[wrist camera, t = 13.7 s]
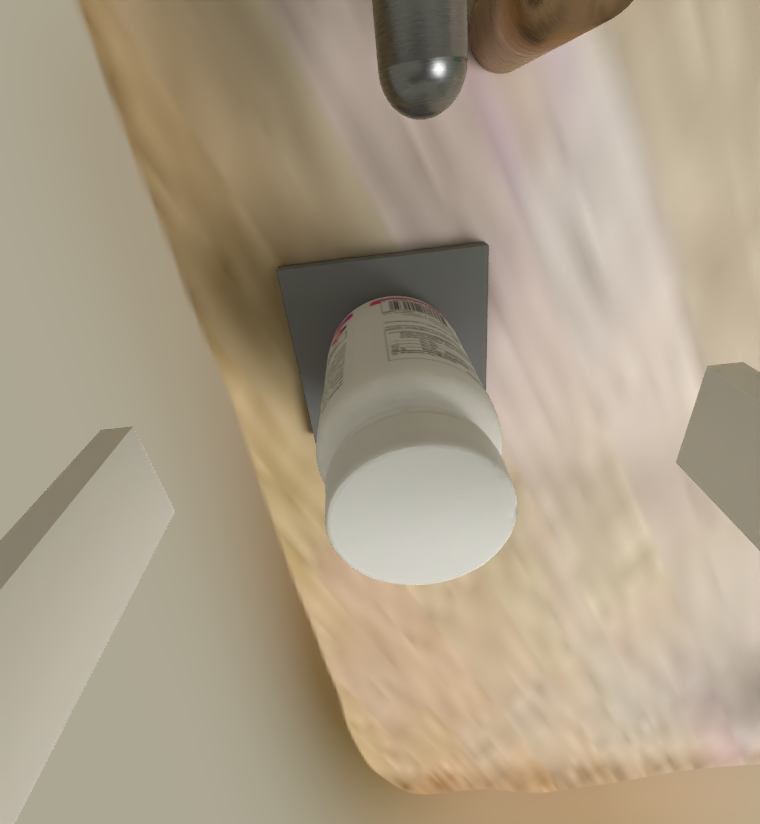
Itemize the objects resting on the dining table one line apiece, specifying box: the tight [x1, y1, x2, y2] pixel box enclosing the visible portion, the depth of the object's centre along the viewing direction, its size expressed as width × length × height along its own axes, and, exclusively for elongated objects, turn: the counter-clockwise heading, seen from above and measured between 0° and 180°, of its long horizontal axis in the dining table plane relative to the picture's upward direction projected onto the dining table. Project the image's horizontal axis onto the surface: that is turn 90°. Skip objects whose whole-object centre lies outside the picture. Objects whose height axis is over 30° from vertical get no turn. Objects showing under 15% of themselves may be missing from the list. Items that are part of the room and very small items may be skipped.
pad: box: [277, 242, 489, 443], centre depth 16 cm, size 7×7×1 cm
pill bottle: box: [316, 296, 517, 585], centre depth 13 cm, size 5×5×8 cm
